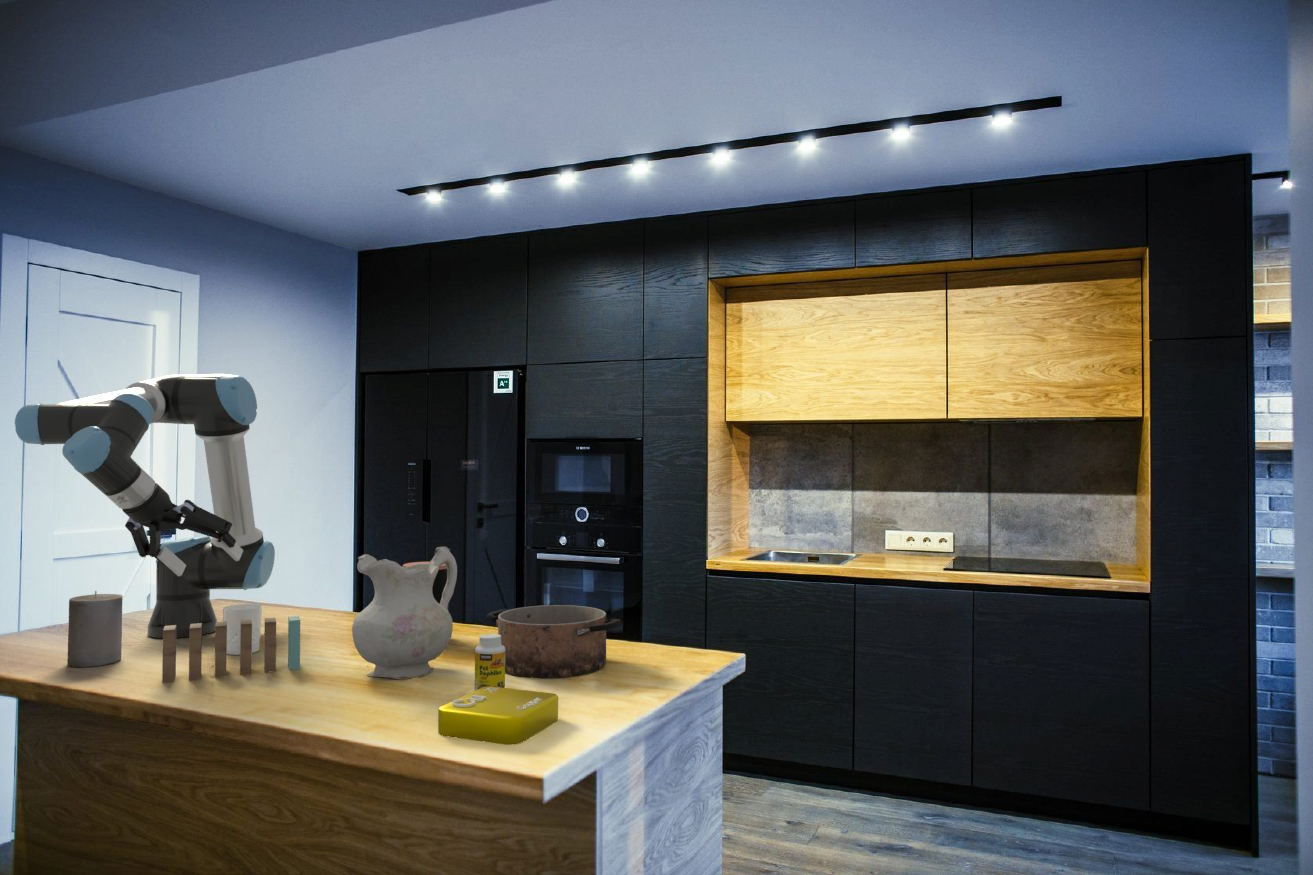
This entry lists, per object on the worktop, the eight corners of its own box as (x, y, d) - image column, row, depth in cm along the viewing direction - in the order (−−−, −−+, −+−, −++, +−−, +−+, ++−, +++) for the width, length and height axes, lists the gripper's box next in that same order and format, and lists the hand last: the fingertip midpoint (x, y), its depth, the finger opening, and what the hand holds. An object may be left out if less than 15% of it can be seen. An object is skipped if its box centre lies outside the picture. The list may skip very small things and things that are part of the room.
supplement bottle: (474, 696, 157) (475, 639, 157) (474, 688, 162) (474, 633, 162) (506, 694, 158) (506, 638, 158) (504, 686, 163) (504, 632, 164)
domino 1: (164, 676, 171) (164, 625, 171) (175, 675, 172) (176, 624, 172) (162, 682, 166) (162, 630, 166) (174, 681, 167) (174, 629, 167)
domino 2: (190, 674, 173) (190, 623, 173) (201, 673, 174) (201, 623, 174) (188, 679, 168) (189, 628, 168) (200, 678, 169) (201, 627, 169)
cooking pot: (640, 661, 184) (640, 610, 184) (588, 686, 164) (588, 629, 164) (522, 648, 197) (522, 601, 197) (460, 670, 176) (460, 617, 177)
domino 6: (287, 664, 181) (288, 616, 181) (298, 663, 181) (298, 615, 182) (289, 670, 176) (289, 620, 176) (299, 668, 177) (300, 619, 177)
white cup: (268, 648, 196) (269, 603, 196) (248, 656, 188) (249, 610, 188) (235, 647, 197) (236, 603, 197) (214, 655, 189) (215, 609, 189)
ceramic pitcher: (416, 660, 189) (410, 546, 190) (483, 664, 179) (476, 543, 181) (333, 683, 170) (327, 556, 172) (403, 688, 161) (396, 554, 162)
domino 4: (240, 669, 177) (240, 620, 177) (250, 668, 177) (251, 619, 178) (240, 674, 172) (240, 624, 172) (251, 673, 173) (251, 623, 173)
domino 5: (264, 667, 179) (264, 618, 179) (274, 665, 179) (275, 617, 180) (265, 672, 174) (265, 622, 174) (275, 671, 175) (276, 621, 175)
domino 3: (215, 671, 175) (215, 621, 175) (226, 670, 176) (226, 621, 176) (214, 677, 170) (215, 626, 170) (226, 676, 171) (226, 625, 171)
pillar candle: (57, 664, 181) (58, 592, 181) (105, 654, 190) (106, 586, 190) (84, 669, 176) (85, 595, 177) (132, 659, 185) (133, 589, 185)
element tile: (516, 748, 130) (516, 715, 130) (432, 736, 135) (432, 705, 135) (562, 719, 144) (562, 690, 144) (485, 710, 149) (485, 682, 149)
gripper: (74, 526, 162) (151, 591, 176) (188, 494, 158) (258, 563, 172) (92, 497, 168) (165, 562, 182) (202, 465, 164) (269, 535, 177)
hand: (211, 563), depth 177 cm, fingers open, 13 cm apart
